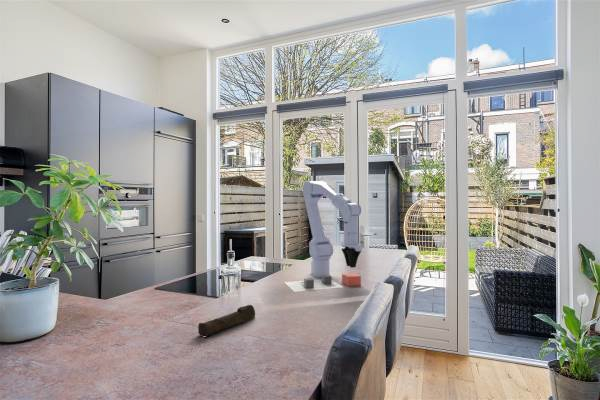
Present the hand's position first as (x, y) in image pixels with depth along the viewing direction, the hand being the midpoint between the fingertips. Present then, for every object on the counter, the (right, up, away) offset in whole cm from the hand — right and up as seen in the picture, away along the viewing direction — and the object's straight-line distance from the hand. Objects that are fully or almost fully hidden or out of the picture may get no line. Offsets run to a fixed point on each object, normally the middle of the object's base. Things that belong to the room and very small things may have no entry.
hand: (351, 266), depth 139 cm
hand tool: (-41, -10, -41) cm, 58 cm away
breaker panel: (-15, -9, -1) cm, 18 cm away
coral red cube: (0, -8, 0) cm, 8 cm away
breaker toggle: (-17, -7, -5) cm, 19 cm away
